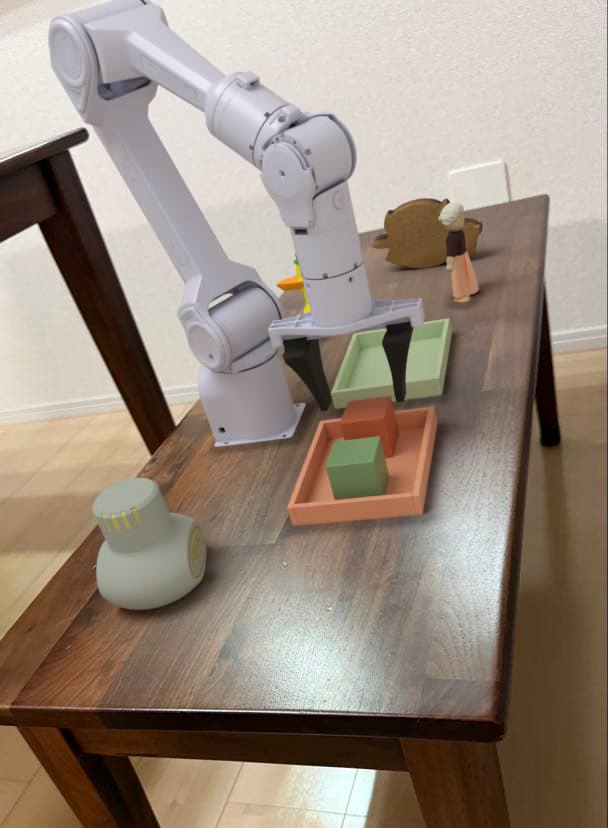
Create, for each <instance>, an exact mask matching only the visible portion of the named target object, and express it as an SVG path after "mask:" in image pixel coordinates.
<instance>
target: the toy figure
mask: <svg viewBox="0 0 608 828" xmlns="http://www.w3.org/2000/svg"><path fill="white" fill-rule="evenodd" d="M294 256H295V259H294V260H293V264H294V268H295V272H296V276H291V277H286V278H284V279H282V280H280V281H279V282H277V284H276V286H277V288H279V289H280V290H282V291H283V292H288V291H295V290H301V293H302V295H303V297H304V300H305V304H304V305H305V306H304V308H303V310H302V314H304V313H307V312H311V311H310V307H309V303H308V299H307V295H306V291H305V287H304V283H303V279H302V275H301V271H300V267H299V263H298V259H297V255H296V252H294Z"/></svg>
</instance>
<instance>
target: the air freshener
mask: <svg viewBox="0 0 608 828" xmlns="http://www.w3.org/2000/svg"><path fill="white" fill-rule="evenodd" d="M91 511H92V514H93V516H94V518H95V520H96V522H97V524H98V527H99V529H100V531H101V533H102V535H103V537H104V539H105V540H104V541H103V543H102V544H101V545H100V548H99V552H98V554H97V558H96V566H95V567H96V570H95V571H96V573H95V574H96V575H95V576H96V585H97V588H98V591H99V593H100V596H101V597H102V598H103V599H104V600H106V601H107V602H108V603H110V604H111V605H114V606H116V607H119V608H121V609H127V610H133V611H134V610H135V611H144V610H152V609H158V608H161V607H165V606H167V605H170V604H172V603H174V602H176V601H178V600H180V599H182V598H183V597H184V596H186V595H188V594H189V593H190V592H191V591H193V590H194V589H195V588H196V587H197V586H198V585H199V584H200V583H201V582H202V580H203V577H204V575H205V571H206V565H207V564H206V563H207V544H206V537H205V533H204V530H203V527H202V525H201V523H200V522H199V521H198V520H196V519H195V518H192V517H191V516H188V515H186V514H181V513H178V512H170V511H169V508H168V506H167V503H166V501H165V499H164V496H163V493H162V492H161V490H160V487H159V485H158V483H157V482H156V481H154V480H152V479H151V478H146V477H132V478H128V479H123V480H121V481H119V482H116V483H114V484H112V485H109V487H107V488H106V489H104V490H103V491H102V492H100V493H99V494H98V496H97V497H96V498H95V500H94V502H93V504H92V507H91Z"/></svg>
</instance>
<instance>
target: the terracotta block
mask: <svg viewBox="0 0 608 828" xmlns="http://www.w3.org/2000/svg"><path fill="white" fill-rule="evenodd" d="M394 411H395V408H394V403H393V401H392V399H391V396H387V397H379V398H371V399H363V400H355V401H348V403H347V406H346V408H344V411H343V413H342V417H341V418H342V419H341V421H340V426H341V429H342V433H343V437H344V440H353V439H361V438H369V437H378V436H380V438H381V442H382V447H383V451H384V455H385V458H389V457H393V455H394V451H395V447H396V444H397V440H398V436H399V431H398V427H397V422H396V417H395V413H394Z"/></svg>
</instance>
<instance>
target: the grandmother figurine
mask: <svg viewBox="0 0 608 828" xmlns="http://www.w3.org/2000/svg"><path fill="white" fill-rule="evenodd" d="M464 212H465V208H464V205H463V204H462V203H459V202H450V203H449V204H447V205H446V206H445V207H444V208H443V210H442V212H441V213H440V216H439V218H438V220H439V221H440V222H442V224H444V225H445V227H446V229H447V230H448V231H449V233H448V236H447V239H446V247H447V254H446V257H447V261H446V267H445V270H446V271H447V272H448V273H451V274H450V276H451V287H452V288H451V289H452V290H451V291H452V296H453V301H454V302H458V303H466V302H469V301H470V300H472V298H471V295H474V294H476V293H478V292H479V291H480V288H479V283H478V279H477V276H476V272H475V269H474V266H473V264H472V261H471V258H470V256H469V255H468V253H467V245H466V242H465V234H464V232H463V230H462V229H461V228H462V227H463V225H464V218H465V217H464V215H463V214H464Z"/></svg>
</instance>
